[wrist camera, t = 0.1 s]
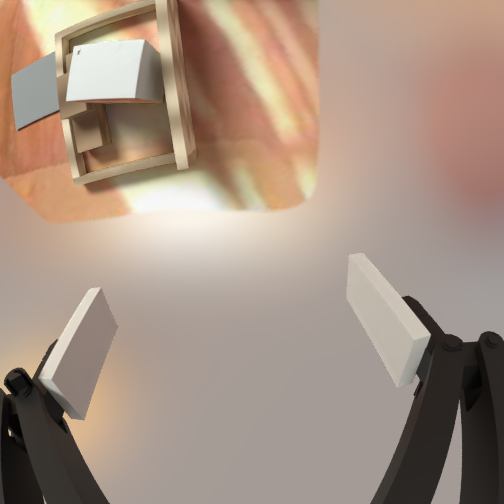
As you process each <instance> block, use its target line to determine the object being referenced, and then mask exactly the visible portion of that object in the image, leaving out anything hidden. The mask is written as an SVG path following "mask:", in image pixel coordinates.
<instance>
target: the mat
mask: <svg viewBox="0 0 504 504" xmlns="http://www.w3.org/2000/svg"><path fill="white" fill-rule="evenodd" d="M56 78H57V74H56V58H55V52H53V53H51V54H49V55H47V56H45V57H43V58H41V59H39V60H37V61H36V62H34V63H32V64H30V65H29V66H27V67H25V68H23V69H22V70H20V71H18V72H17V73H15V74H13V75H12V76H11V83H12V98H13V108H14V117H15V125H16V130H18V129H20V128H22V127H24V126H26V125H28V124H30V123H32V122H34V121H36V120H38V119H40V118H42V117H44V116H47V115H49V114H51V113H53V112H56V111H58V110H60V109H59V101H58V93H57V82H56Z"/></svg>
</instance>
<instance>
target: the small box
mask: <svg viewBox="0 0 504 504" xmlns="http://www.w3.org/2000/svg"><path fill="white" fill-rule="evenodd" d="M163 95H164V81H163V73H162V65H161V56H160V53H159V52H158V51H157V50H156V49H155V48H153V47H152V46H151V45H150V44H149V43H148V42H147V41H146V40H144V39H136V40H117V41H103V42H97V43H91V44H84V45H78V46H74V50H73V55H72V60H71V66H70V73H69V80H68V87H67V97H66V102H87V103H104V104H114V103H158V104H162V103H163Z"/></svg>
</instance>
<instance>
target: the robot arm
mask: <svg viewBox="0 0 504 504" xmlns="http://www.w3.org/2000/svg"><path fill="white" fill-rule="evenodd" d="M346 299H347V301H348V302H349V304H350V306H351V307H352V309H353V311H354V312H355V314H356V316H357V317H358V319H359V321H360V323H361V324H362V326H363V328H364V330H365V331H366V333H367V335H368V336H369V338H370V340H371V342H372V344H373V345H374V347H375V349H376V351H377V352H378V354H379V356H380V358H381V360H382V361H383V363H384V365H385V367H386V369H387V370H388V372H389V374H390V376H391V378H392V380H393V382H394V383H395V385H396V387H397V388H398V387H401V386H404V385H407V384H410V383H412V382H413V380H414V378H415V375H416V374H417V375H418V377H419V379H420V382H419V384H418V386H417V388H416V390H415V393H414V396H415V397H414V400H413V404H412V407H411V410H410V413H409V416H408V419H407V422H406V425H405V427H404V430H403V433H402V435H401V438H400V441H399V443H398V446H397V448H396V451H395V453H394V455H393V458H392V460H391V462H390V465H389V467H388V469H387V471H386V474H385V476H384V478H383V480H382V482H381V484H380V486H379V488H378V490H377V492H376V494H375V496H374V498H373V500H372V501H371V503H370V504H431V501H432V498H433V496H434V493H435V491H436V488H437V485H438V482H439V479H440V476H441V473H442V470H443V467H444V463H445V460H446V457H447V453H448V450H449V446H450V442H451V438H452V433H453V429H454V425H455V420H456V415H457V410H458V404H459V398H460V409H461V424H462V479H461V492H460V503H459V504H504V341H503V339H502V337H500V336H499V335H498V334H496V333H494V332H490V331H487V332H484V333H482V334H481V336H480V338H479V340H478V342H465V343H464V342H463V341H462V340H461V339H460V338H458V337H457V336H454V335H451V334H445V333H444V332H443V331H442V329H441V328H440V327H439V326H438V324H437V323H436V322H435V321H434V320H433V318H432V317H431V316H430V315H428V313H427V311H426V310H425V309H424V308H423V307H422V306H421V304H420V303H419V302H418V301H417V300H415V299H413V298H412V297H410V296H405V297H400V295H399V294H398V293H397V292H396V291H395V289H394V288H393V287H392V286H391V285H390V283H389V282H388V281H387V280H386V279H385V278H384V276H383V275H382V274H381V273H380V272H379V271H378V270H377V269H376V267H375V266H374V265H373V264H372V263H371V262H370V261H369V260H368V258H367V257H366V256H365V255H364V254H363V253H355V254H349V264H348V280H347V293H346ZM117 328H118V326H117V324H116V322H115V319H114V317H113V315H112V312H111V310H110V308H109V305H108V303H107V301H106V298H105V296H104V293H103V290H102V288H101V287H99V288H90V289H89V290H88V292H87V293H86V295H85V297H84V298H83V300H82V301H81V303H80V305H79V306H78V308H77V309H76V311H75V313H74V314H73V316H72V317H71V319H70V321H69V322H68V324H67V326H66V328H65V329H64V331H63V333H62V335H61V336H60V338H59V339H57V340H56V341H55V342H54V343H53V344H52V345H51V346H50V347H49V348H48V351H47V352H46V355H45V356H44V357H43V359H42V361H41V363H40V365H39V367H38V369H37V371H36V373H35V374H34V377H33V378H32V379H31V378H30V377H29V375H28V374H27V372H26V371H25V370H24V369H23V368H16V369H13V370H12V371H10V372H9V373H8V374H7V376H6V377H5V380H4V385H5V386H6V387H7V389H8V390H9V391H10V392H11V394H8V395H6V394H5V392H4V391H3V390H2V389H1V388H0V504H44V499H43V496H44V498H45V501H46V503H47V504H110V503H109V502H108V500H107V499H106V497H105V496H104V494H103V493H102V491H101V489H100V488H99V486H98V484H97V483H96V481H95V480H94V477H93V476H92V474H91V472H90V470H89V468H88V466H87V464H86V463H85V461H84V459H83V457H82V455H81V453H80V451H79V449H78V447H77V445H76V443H75V440H74V438H73V436H72V434H71V432H70V429H69V427H68V425H67V423H66V421H65V419H64V418H63V417H62V416H63V413H64V411H65V412H66V413H67V414H68V416H69V417H70V418H71V419H79V420H84V419H85V416H86V413H87V410H88V407H89V404H90V401H91V398H92V395H93V392H94V389H95V386H96V383H97V380H98V377H99V374H100V372H101V369H102V366H103V364H104V361H105V358H106V355H107V353H108V351H109V348H110V345H111V343H112V340H113V338H114V335H115V333H116V330H117ZM8 429H9V430H10V431H11V436H9V432H8Z"/></svg>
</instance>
